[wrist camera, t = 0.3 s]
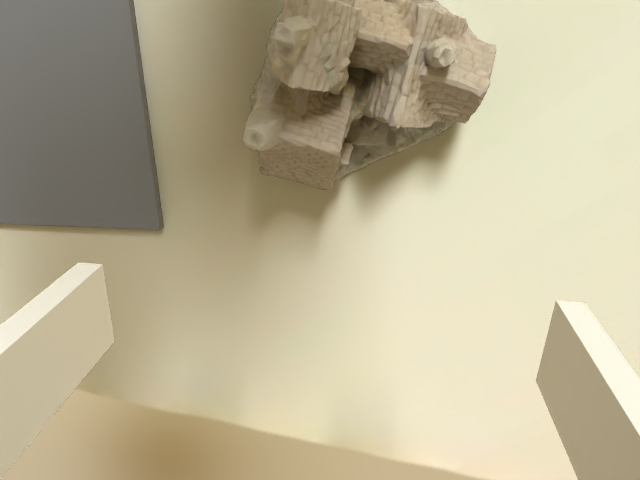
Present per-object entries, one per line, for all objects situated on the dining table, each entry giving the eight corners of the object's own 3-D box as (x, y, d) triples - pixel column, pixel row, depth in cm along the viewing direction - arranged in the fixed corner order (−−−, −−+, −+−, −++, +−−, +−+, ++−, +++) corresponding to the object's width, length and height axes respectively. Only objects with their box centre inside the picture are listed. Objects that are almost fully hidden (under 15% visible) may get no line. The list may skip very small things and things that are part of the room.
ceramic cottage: (226, 141, 42) (171, 200, 28) (311, -69, 36) (294, -128, 22) (395, 220, 44) (421, 310, 30) (502, 34, 38) (596, 40, 24)
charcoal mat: (-70, -23, 39) (-78, -24, 38) (129, -26, 37) (124, -26, 37) (-3, 220, 47) (-9, 223, 46) (163, 226, 45) (160, 230, 45)
